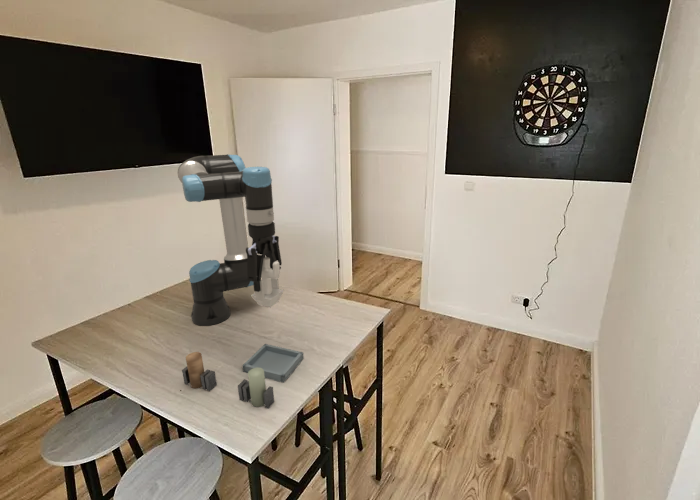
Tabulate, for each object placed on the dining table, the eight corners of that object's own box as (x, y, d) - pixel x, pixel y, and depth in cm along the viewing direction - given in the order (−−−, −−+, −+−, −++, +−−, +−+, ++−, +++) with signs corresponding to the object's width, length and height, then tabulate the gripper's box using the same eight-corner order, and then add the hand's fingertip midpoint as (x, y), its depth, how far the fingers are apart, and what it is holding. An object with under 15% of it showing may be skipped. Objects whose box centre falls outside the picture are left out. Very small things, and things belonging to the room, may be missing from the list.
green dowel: (248, 404, 104) (244, 375, 100) (257, 394, 108) (253, 366, 104) (261, 408, 102) (258, 379, 99) (270, 398, 106) (267, 369, 103)
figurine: (263, 296, 118) (258, 252, 113) (287, 301, 115) (284, 256, 110) (248, 305, 112) (243, 260, 107) (274, 311, 108) (270, 264, 103)
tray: (243, 371, 118) (242, 365, 117) (265, 349, 129) (265, 343, 128) (283, 382, 112) (283, 375, 112) (303, 358, 124) (303, 352, 123)
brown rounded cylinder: (187, 386, 111) (182, 358, 108) (198, 377, 115) (193, 350, 112) (199, 390, 110) (194, 361, 106) (209, 380, 114) (204, 353, 110)
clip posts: (184, 383, 112) (181, 370, 111) (191, 377, 115) (189, 364, 113) (268, 408, 102) (267, 394, 101) (274, 401, 105) (272, 387, 103)
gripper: (251, 232, 95) (259, 311, 102) (290, 215, 112) (294, 283, 120) (227, 230, 97) (236, 307, 105) (269, 213, 115) (274, 280, 122)
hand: (267, 294), depth 112 cm, fingers closed on figurine, 7 cm apart
